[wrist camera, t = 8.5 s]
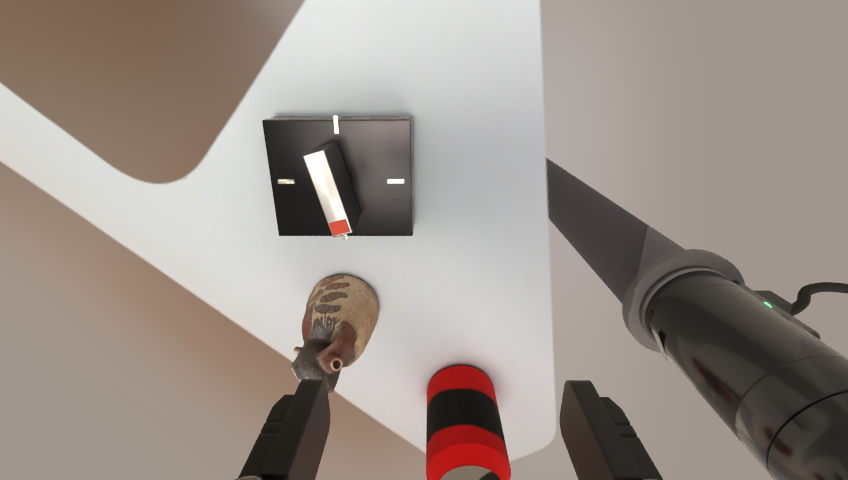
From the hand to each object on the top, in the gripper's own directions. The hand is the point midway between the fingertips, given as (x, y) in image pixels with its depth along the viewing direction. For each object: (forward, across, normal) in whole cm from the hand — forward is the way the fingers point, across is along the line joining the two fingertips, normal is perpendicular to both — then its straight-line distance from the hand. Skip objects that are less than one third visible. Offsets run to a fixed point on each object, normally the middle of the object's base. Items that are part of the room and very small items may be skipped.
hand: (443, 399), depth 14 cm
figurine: (+26, +9, +12) cm, 30 cm away
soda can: (+26, -3, +23) cm, 35 cm away
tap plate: (+26, +8, -2) cm, 27 cm away
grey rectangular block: (+23, +8, -2) cm, 24 cm away
